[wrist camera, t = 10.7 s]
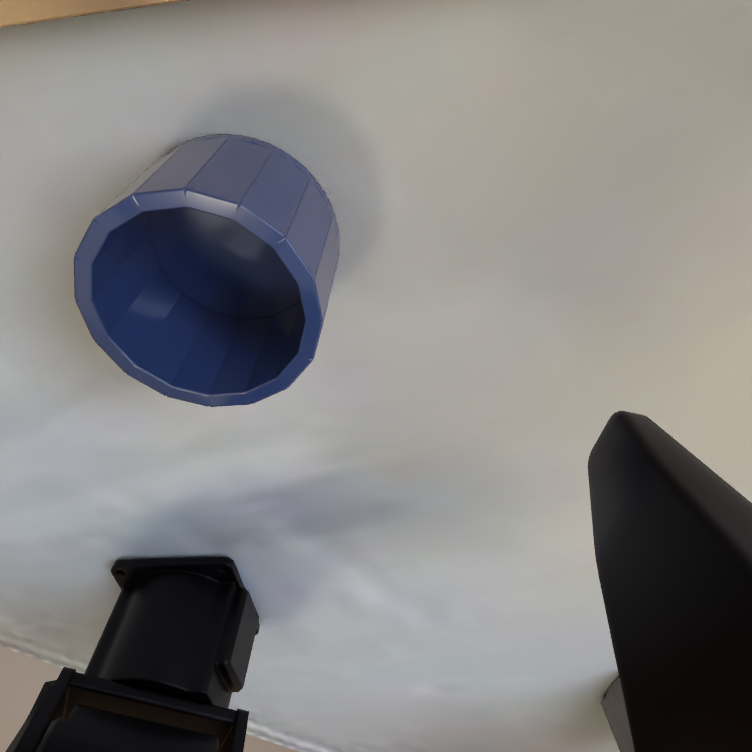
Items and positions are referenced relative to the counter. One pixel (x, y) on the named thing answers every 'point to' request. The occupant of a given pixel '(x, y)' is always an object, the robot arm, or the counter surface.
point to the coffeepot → (618, 716)
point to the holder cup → (211, 272)
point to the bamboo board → (63, 9)
